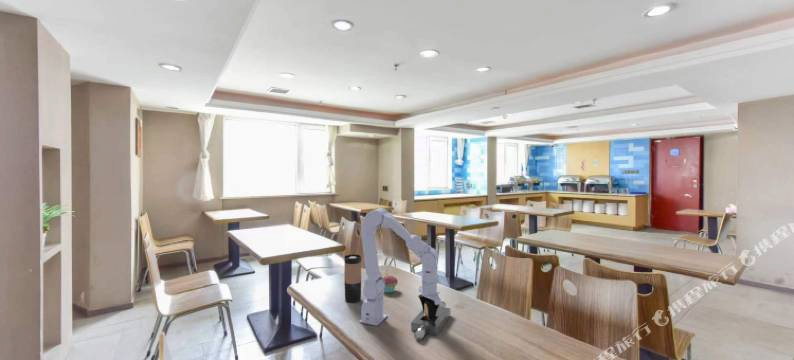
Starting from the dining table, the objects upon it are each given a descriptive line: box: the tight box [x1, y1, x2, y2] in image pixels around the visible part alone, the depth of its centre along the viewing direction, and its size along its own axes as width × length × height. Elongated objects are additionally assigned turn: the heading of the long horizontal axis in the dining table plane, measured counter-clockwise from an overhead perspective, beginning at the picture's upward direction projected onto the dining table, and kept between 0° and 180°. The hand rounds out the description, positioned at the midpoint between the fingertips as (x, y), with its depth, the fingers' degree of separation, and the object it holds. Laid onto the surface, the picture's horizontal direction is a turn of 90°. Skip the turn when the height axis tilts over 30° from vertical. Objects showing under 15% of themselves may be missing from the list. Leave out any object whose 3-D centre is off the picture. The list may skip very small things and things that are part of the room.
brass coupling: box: [424, 303, 435, 323], centre depth 128 cm, size 4×4×7 cm
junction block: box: [410, 300, 451, 342], centre depth 131 cm, size 30×10×3 cm, turn 156°
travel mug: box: [343, 253, 362, 304], centre depth 153 cm, size 8×8×20 cm
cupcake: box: [382, 268, 398, 294], centre depth 165 cm, size 9×8×12 cm
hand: (429, 316), depth 128 cm, fingers closed on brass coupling, 4 cm apart
